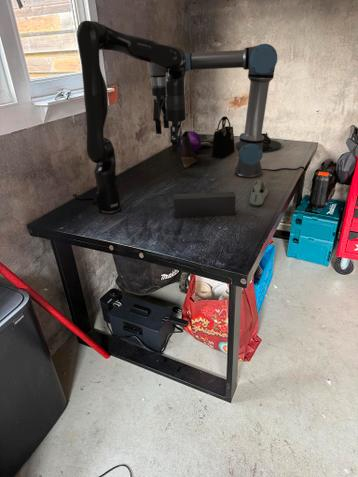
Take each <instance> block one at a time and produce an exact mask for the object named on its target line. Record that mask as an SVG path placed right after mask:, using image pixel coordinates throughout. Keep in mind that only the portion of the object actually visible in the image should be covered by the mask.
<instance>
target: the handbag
mask: <svg viewBox="0 0 358 477" xmlns="http://www.w3.org/2000/svg"><path fill="white" fill-rule="evenodd" d="M226 123H228V126H227V125H226ZM220 125H221V128H220ZM213 134H214V140H213V142H212V145H213V147H212V149H211V150H212V151H211V157H212V158H216V159H224V158H226V157H228V156H230V155H231V154H233V153H234V152H235V151H236V149H235V148H236V145H235V134H234V126H231V122H230V120H229V117H227V116H226V115H225V116H222V117H221V118H220V120H219V122H218V125H217V128H215V130H214V132H213Z"/></svg>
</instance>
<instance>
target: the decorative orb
mask: <svg viewBox="0 0 358 477" xmlns="http://www.w3.org/2000/svg"><path fill="white" fill-rule="evenodd" d="M187 131H188V132H189V137H190V142H191V145H192V149H193V152H195V153H196V152H197V151H198V150H199V149H200V145H201V140H202V139H201V137H200V135H199V134H198V133H197V132H195V131H192V130H187ZM180 138H182V135H181V137H180ZM179 148H180V149H181V150H182V140H181V146H180V147H179Z"/></svg>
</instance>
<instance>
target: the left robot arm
mask: <svg viewBox="0 0 358 477" xmlns="http://www.w3.org/2000/svg"><path fill="white" fill-rule="evenodd" d="M76 40H77V46H78V51H79V58H80V64H81V75H82V85H83V99H84V100H83V101H84V108H85V124H86V154H87V157H88V159H89V160H90V161H91V162H92V163H94V164H96V165H95V167H94V170H93V175H94V179H95V185H96V189H97V191H96V194H95V195H96V197H95V196H87V197H80V196H79V195H78V194H77V193H75V192H74V193H75V195H74V193H73V194H72V196H74V197H76V199H78V200H81V201H82V200H89V199H90V200H93V203H94V204H97V205H98V211H99V212H101V213H103V214H106V215H107V214H115V213H118V212H119V211H121V209H122V205H121V200H120V194H119V187H118V182H117V181H118V180H117V175H116V167H117V162H116V152H115V147H114V145H113V143H112V141H111V140H110V139H109V138H107V137H105V136H104V129H105V124H106V120H107V116H108V112H109V92H108V86H107V83H106V80H105V78H104V75H103V73H102V69H101V60H100V51H103V50H104V51H113V52H118V53H120V54H121V53H122V54H124V55H126V56H129V57H130V58H133V59H136V60H139V61H142V62H146V63H148V64H149V63H154V64H156V65H159V66H161V67H164V68H167V69H168V73H167V77H166V119H167V121H169V122H171V125H170V126H169V131H170V132H169V134H170V140H169V142H170V143H171V152H172V153H173V154H177V153H178V152H179V148H181V147H180V146H181V138H180V137H181V136H182V134H183V124H182V122H184V121H186V119H187V118H186V116H187V114H186V113H187V112H186V109H187V108H186V105H187V104H186V88H185V87H186V85H185V79H186V72H187V71H186V55H185V53H186V52H185V51H184V49H183V48H182V47H180V46H170V45H166V44H162V43H159V42H157V41H155V40H151V39H149V38H144V37H140V36H135V35H130V34H126V33H122V32H120V31H117V30H115V29H112V28H110V27H109V26H106V25H105V24H102V23H101V22H98V21H95V20H83V21H81V22H79V25H78V26H77V29H76Z"/></svg>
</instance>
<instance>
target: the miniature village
mask: <svg viewBox="0 0 358 477" xmlns="http://www.w3.org/2000/svg"><path fill="white" fill-rule="evenodd" d="M262 136H263V137H264V142H263V149H262V151H263V154H264V153H271V152H276V151H279V150H280V149H281V148H282V143H281V142H279V141H277V140H272V139H271V137H270V136H269V134H268V132H265V133H263V132H262ZM239 143H240V141H238V142H236V144H235V148H236V149H237V150H238V151H239Z"/></svg>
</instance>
